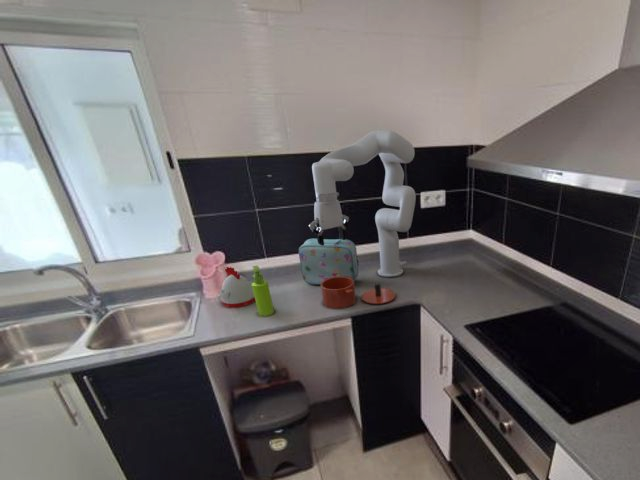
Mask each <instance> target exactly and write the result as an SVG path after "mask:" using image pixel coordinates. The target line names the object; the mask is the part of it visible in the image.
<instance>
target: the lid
mask: <svg viewBox="0 0 640 480" xmlns="http://www.w3.org/2000/svg"><path fill="white" fill-rule="evenodd" d="M395 298H396V293H395V292H394V291H393V290H391V289H388V288H382V286H381V283H380V282H375V283H374V288H371V289H368V290H366V291H364V292H363V293H362V294H361V300H362V301H363V302H364V303H367V304H370V305H383V304H387V303H390V302H392V301H393V300H395Z"/></svg>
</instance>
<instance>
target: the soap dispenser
mask: <svg viewBox="0 0 640 480" xmlns="http://www.w3.org/2000/svg"><path fill="white" fill-rule="evenodd" d="M252 268H253V271H254V274H253V275H252V277H253V281H254V282H252V288H253V292H254V296H255V304H256V308H257V312H258V315H259V316H260V317H268V316H271V315H273V314H274V313H275V309H274V306H273V305H274V304H273V300H272V299H273V298H272V295H271V290H270V286H269V283H268V281H267V280H264V275H263V273H261V270H260V267H259V265H253V266H252Z"/></svg>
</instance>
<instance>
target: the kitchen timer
mask: <svg viewBox="0 0 640 480" xmlns="http://www.w3.org/2000/svg"><path fill="white" fill-rule="evenodd" d="M224 272H225V273H226V275H227V277H226V278H224V280H223V283H222V286H221V288H220V289H219V294H220V300H221V304H222V305H223V306H224V307H226V308H241V307H245V306H248V305H250V304H252V303H254V302H256V300H255V296H254V292H253V288H252V283H253V282H252V281H249V280H248V278H246V277H244V276H243V275H241V274H240V273H238V271H237V270H235V268H234V267H231V266H230V267H229V266H226V268H225V269H224Z"/></svg>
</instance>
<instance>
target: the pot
mask: <svg viewBox="0 0 640 480" xmlns="http://www.w3.org/2000/svg"><path fill="white" fill-rule="evenodd" d="M355 285H356V284H355V283H354V281H353V279H351V278H348V277H333V278H325V279H323V282H322V283H321V285H320V290H321V297H322V303H323V305H324V306H325V308H328V309H333V310H334V309H335V310H336V309H337V310H338V309H345V308H349V307H352V306H353V305H354V304H355V303H356V302H357V301H356V300H357V295H356V286H355Z"/></svg>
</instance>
